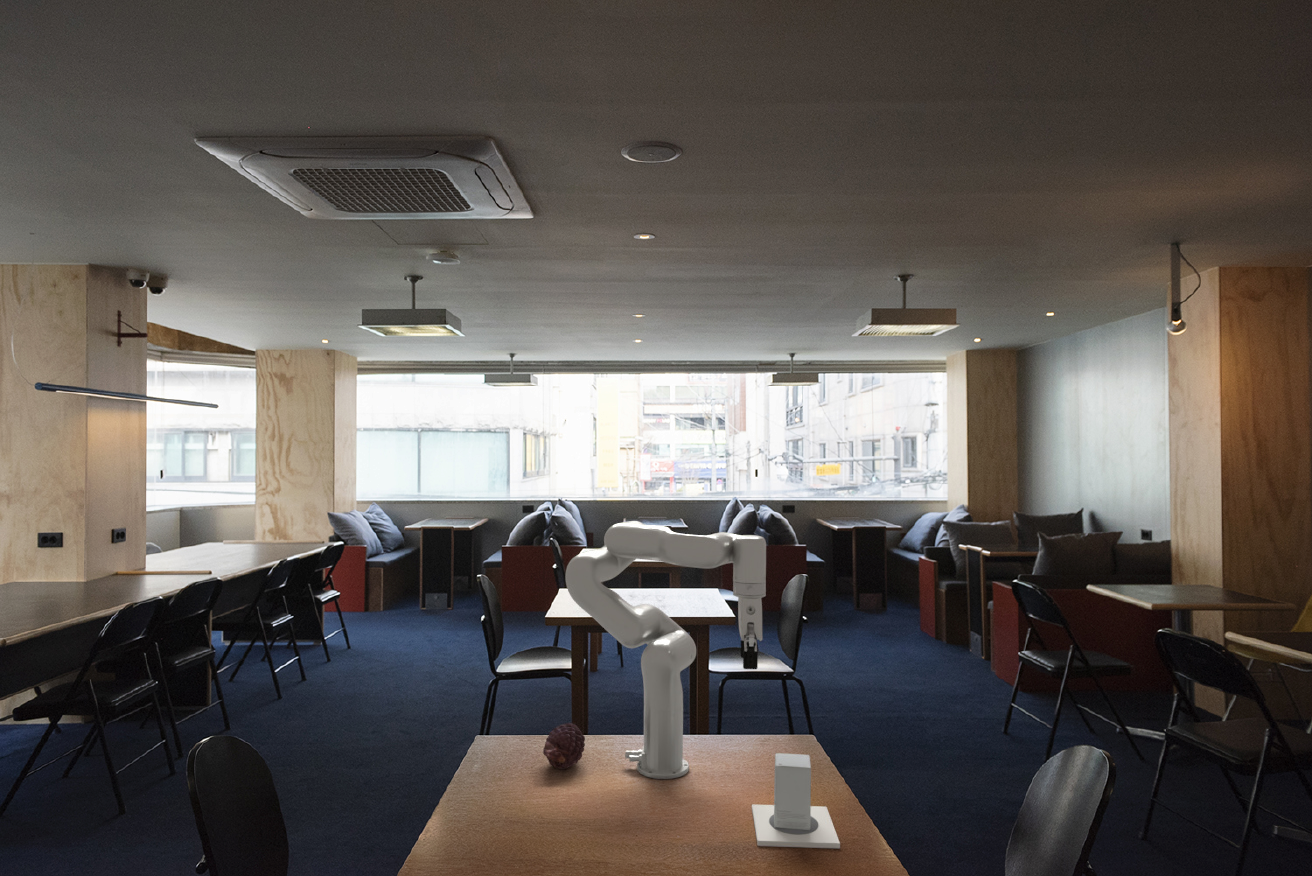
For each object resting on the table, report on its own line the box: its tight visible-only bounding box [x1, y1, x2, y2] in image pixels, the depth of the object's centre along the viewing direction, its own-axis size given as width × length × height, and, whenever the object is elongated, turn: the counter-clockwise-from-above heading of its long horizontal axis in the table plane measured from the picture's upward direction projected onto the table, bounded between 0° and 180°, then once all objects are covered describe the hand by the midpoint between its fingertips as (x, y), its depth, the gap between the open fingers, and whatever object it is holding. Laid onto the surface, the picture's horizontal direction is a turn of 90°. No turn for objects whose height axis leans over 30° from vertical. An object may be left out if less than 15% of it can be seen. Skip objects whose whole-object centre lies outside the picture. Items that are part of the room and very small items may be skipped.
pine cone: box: [542, 722, 586, 770], centre depth 195 cm, size 18×10×10 cm, turn 171°
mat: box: [751, 803, 841, 849], centre depth 164 cm, size 16×16×1 cm
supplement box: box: [773, 752, 812, 830], centre depth 164 cm, size 7×7×13 cm
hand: (748, 663), depth 184 cm, fingers open, 9 cm apart
